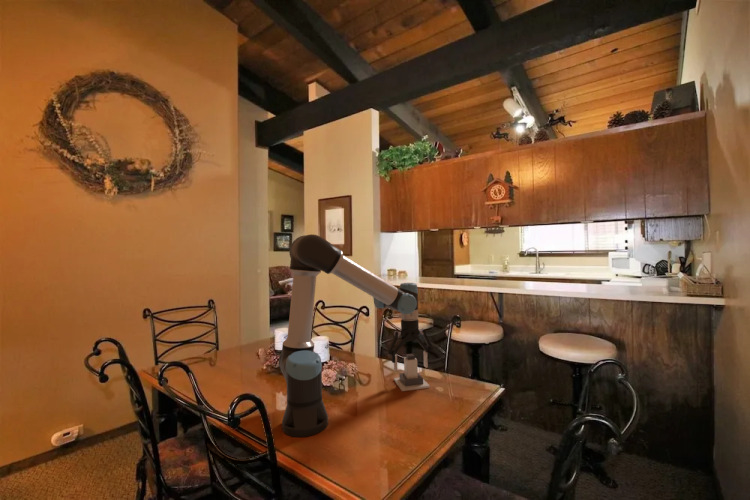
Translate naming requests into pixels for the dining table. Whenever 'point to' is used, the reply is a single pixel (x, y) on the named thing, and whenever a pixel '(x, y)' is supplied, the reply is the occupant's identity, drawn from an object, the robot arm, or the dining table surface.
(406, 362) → the grey bottle
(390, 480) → the dining table surface
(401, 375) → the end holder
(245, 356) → the dining table surface
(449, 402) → the dining table surface
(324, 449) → the dining table surface
